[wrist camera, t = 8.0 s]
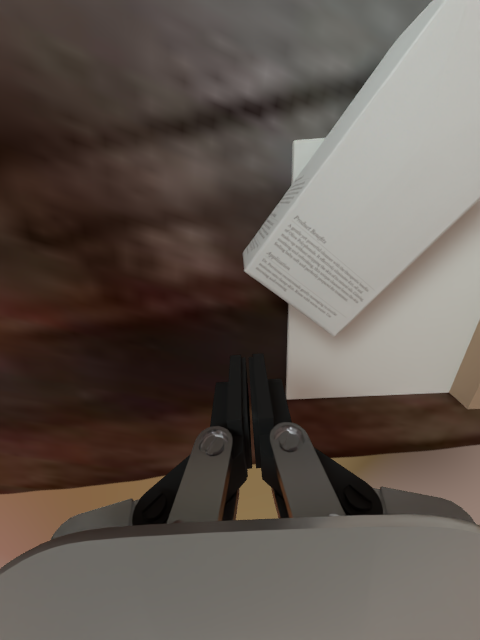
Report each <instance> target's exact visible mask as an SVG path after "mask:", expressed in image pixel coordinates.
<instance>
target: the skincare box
mask: <svg viewBox="0 0 480 640" xmlns="http://www.w3.org/2000/svg"><path fill="white" fill-rule="evenodd" d="M479 199H480V0H433V1H432V2H431V3H430V4H429V5H428V6H427V7H426V8H425V9H424V10H423V11H422V13H421V14H420V15H419V16H418V17H417V18H416V19H415V20H414V21H413V22H412V23H411V24H410V26H409V27H408V28H407V29H406V30H405V31H404V32H403V33H402V34H401V36H400V37H399V38H398V39H397V40H396V42H395V43H394V44H393V45H392V47H391V48H390V49H389V51H388V52H387V54H386V55H385V56H384V58H383V59H382V61H381V62H380V63H379V65H378V66H377V68H376V69H375V70H374V72H373V73H372V74H371V76H370V77H369V79H368V80H367V81H366V83H365V84H364V86H363V87H362V88H361V90H360V91H359V92H358V94H357V95H356V97H355V98H354V99H353V101H352V102H351V104H350V105H349V106H348V108H347V109H346V111H345V112H344V113H343V115H342V116H341V117H340V119H339V120H338V122H337V123H336V124H335V126H334V127H333V129H332V130H331V131H330V133H329V134H328V135H327V137H326V138H325V140H324V141H323V142H322V144H321V145H320V147H319V148H318V149H317V151H316V152H315V154H314V155H313V156H312V158H311V159H310V160H309V162H308V163H307V165H306V166H305V167H304V169H303V170H302V172H301V173H300V174H299V176H298V177H297V178H296V180H295V181H294V183H293V184H292V185H291V187H290V188H289V189H288V191H287V192H286V194H285V195H284V196H283V198H282V199H281V201H280V202H279V203H278V205H277V206H276V207H275V209H274V210H273V212H272V213H271V214H270V216H269V217H268V219H267V220H266V221H265V223H264V224H263V225H262V227H261V228H260V230H259V231H258V232H257V234H256V235H255V237H254V238H253V239H252V241H251V242H250V243H249V245H248V246H247V247H246V249H245V250H244V252H243V261H244V271H245V272H246V273H247V274H248V275H250V276H251V277H253V278H254V279H255V280H257V281H258V282H260V283H261V284H262V285H264V286H265V287H267V288H268V289H269V290H271V291H272V292H274V293H275V294H276V295H278V296H279V297H280V298H282V299H283V300H284V301H286V302H287V303H289V304H290V305H291V306H293V307H294V308H295V309H297V310H298V311H300V312H301V313H302V314H304V315H305V316H306V317H308V318H309V319H311V320H312V321H313V322H315V323H316V324H317V325H319V326H320V327H322V328H323V329H324V330H326V331H327V332H328V333H329V334H331V335H332V336H336V335H337V334H338V333H340V332H341V331H342V330H343V329H344V328H345V327H346V326H347V325H348V324H349V323H350V322H351V321H352V320H353V319H354V318H355V317H356V316H357V315H359V314H360V313H361V312H362V311H363V310H364V309H365V308H366V307H367V306H368V305H369V304H370V303H371V302H372V301H373V300H374V299H375V298H376V297H377V296H378V295H379V294H380V293H381V292H382V291H383V290H385V289H386V288H387V287H388V286H389V285H390V284H391V283H392V282H393V281H394V280H395V279H396V278H397V277H398V276H399V275H400V274H401V273H402V272H403V271H405V270H406V269H407V268H408V267H409V266H410V265H411V264H412V263H413V262H414V261H415V260H416V259H417V258H418V257H419V256H420V255H421V254H422V253H423V252H425V251H426V250H427V249H428V248H429V247H430V246H431V245H432V244H433V243H434V242H435V241H436V240H437V239H438V238H439V237H440V236H441V235H442V234H443V233H445V232H446V231H447V230H448V229H449V228H450V227H451V226H452V225H453V224H454V223H455V222H456V221H457V220H458V219H459V218H460V217H461V216H463V215H464V214H465V213H466V212H467V211H468V210H469V209H470V208H471V207H472V206H473V205H474V204H475V203H476V202H477V201H478V200H479Z"/></svg>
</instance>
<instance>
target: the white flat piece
mask: <svg viewBox="0 0 480 640" xmlns="http://www.w3.org/2000/svg"><path fill="white" fill-rule="evenodd" d="M324 140H325V138H318V139H306V140H294V141H293V145H292V182H291V185H292V184H293V183H294V181H295V180H296V178H297V177H298V176H299V174H300V173H301V172H302V170H303V169H304V167H305V166H306V165H307V163H308V162H309V160H310V159H311V158H312V156H313V155H314V154H315V152H316V151H317V149H318V148H319V147H320V145H321V144H322V142H323V141H324ZM446 392H449V393H450V394H451V395H452V396H454V397H455V398H456V399H457V400H458V401H459V402H460V403H461V404H463V405H464V406H465V407H466V408H467V409H480V199H479V200H478V201H477V202H476V203H475V204H474V205H473V206H472V207H471V208H470V209H469V210H468V211H467V212H466V213H465V214H464V215H463V216H461V217H460V218H459V219H458V220H457V221H456V222H455V223H454V224H453V225H452V226H451V227H450V228H449V229H448V230H447V231H446V232H445V233H443V234H442V235H441V236H440V237H439V238H438V239H437V240H436V241H435V242H434V243H433V244H432V245H431V246H430V247H429V248H428V249H427V250H426V251H425V252H423V253H422V254H421V255H420V256H419V257H418V258H417V259H416V260H415V261H414V262H413V263H412V264H411V265H410V266H409V267H408V268H407V269H406V270H405V271H403V272H402V273H401V274H400V275H399V276H398V277H397V278H396V279H395V280H394V281H393V282H392V283H391V284H390V285H389V286H388V287H387V288H386V289H385V290H383V291H382V292H381V293H380V294H379V295H378V296H377V297H376V298H375V299H374V300H373V301H372V302H371V303H370V304H369V305H368V306H367V307H366V308H365V309H364V310H363V311H362V312H361V313H360V314H359V315H357V316H356V317H355V318H354V319H353V320H352V321H351V322H350V323H349V324H348V325H347V326H346V327H345V328H344V329H343V330H342V331H341V332H340V333H338V334H337V335H336V336H332V335H331V334H329V333H328V332H327V331H326V330H324V329H323V328H322V327H320V326H319V325H317V324H316V323H315V322H313V321H312V320H311V319H309V318H308V317H306V316H305V315H304V314H302V313H301V312H300V311H298V310H297V309H295V308H294V307H293V306H291V305H290V304H289V303H288V332H287V370H286V399H310V398H332V397H355V396H378V395H401V394H424V393H446Z"/></svg>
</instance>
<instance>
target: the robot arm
mask: <svg viewBox="0 0 480 640" xmlns="http://www.w3.org/2000/svg"><path fill="white" fill-rule="evenodd" d="M249 371H250V387H251V404H252V420H253V433H254V446H255V459H256V468H261V471H262V479H263V480H264V481H265V482H266V483H267V484H268V485H270V486H271V488H272V494H273V498H274V502H275V506H276V510H277V513H278V518H279V519H256V520H236V514H237V505H238V499H239V488H240V487H241V485H242V484H243V483H244V482H245V481H246V480H247V477H248V475H247V469H249V468H252V454H251V434H250V413H249V396H248V384H247V372H246V360H245V358H241V355H233V356H230V369H229V382H218V383H216V387H215V394H214V402H213V410H212V417H211V425H210V427H209V428H207V429H205V430H203V431H202V432H201V433H200V434H199V435H198V437H197V439H196V441H195V443H194V446H193V449H192V452H191V454H190V455H189V456H188V457H187V458H186V459H185V460H183V461H182V462H181V463H180V464H179V465H178V466H176V467H175V468H174V469H173V470H172V471H170V472H169V473H168V474H167V475H166V476H165V477H163V478H162V479H161V480H160V481H159V482H158V483H157V484H155V485H154V486H153V487H152V488H151V489H149V490H148V491H147V492H146V493H145V494H144V495H143V496H142V497H141V498H140V499H139V500H135V501H133V499H128V500H125V501H122V502H118V503H115V504H112V505H109V506H105V507H102V508H98V509H95V510H92V511H89V512H85V513H82V514H78V515H76V516H74V517H72V518H70V519H68V520H67V521H66V522H64V523H63V524H62V525H61V526H60V527H59V528H58V530H57V531H56V532H55V533H54V535H53V536H52V538H51V540H50V541H47V542H45V543H43V544H40V545H39V546H37V547H35V548H33V549H31V550H29V551H27V552H25V553H23V554H21V555H20V556H18V557H16V558H15V559H13V560H12V561H10V562H9V563H7V564H6V565H4V566H3V567H2V568H1V569H0V640H480V525H477V524H476V523H475V522H474V521H473V519H472V518H471V517H470V515H469V514H468V513H467V512H465V511H464V510H463V509H462V508H461V507H459V506H458V505H456V504H455V503H453V502H452V501H449V500H446V499H443V498H438V497H433V496H428V495H422V494H417V493H412V492H407V491H402V490H396V489H391V488H386V487H381V488H380V489H375V488H372V487H371V486H370V485H368V484H367V483H366V482H365V481H363V480H362V479H360V478H359V477H357V476H356V475H354V474H353V473H351V472H350V471H348V470H347V469H345V468H344V467H342V466H341V465H339V464H338V463H336V462H335V461H334V460H332V459H331V458H329V457H328V456H326V455H325V454H323V453H322V452H320V451H319V450H317V449H316V448H314V447H313V445H312V443H311V441H310V439H309V437H308V435H307V433H306V432H305V430H304V429H303V428H302V427H300V426H299V425H297V424H295V423H292V422H291V417H290V413H289V409H288V405H287V401H286V397H285V392H284V388H283V384H282V380H281V379H267V374H266V368H265V361H264V355H263V354H253V357H249Z"/></svg>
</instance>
